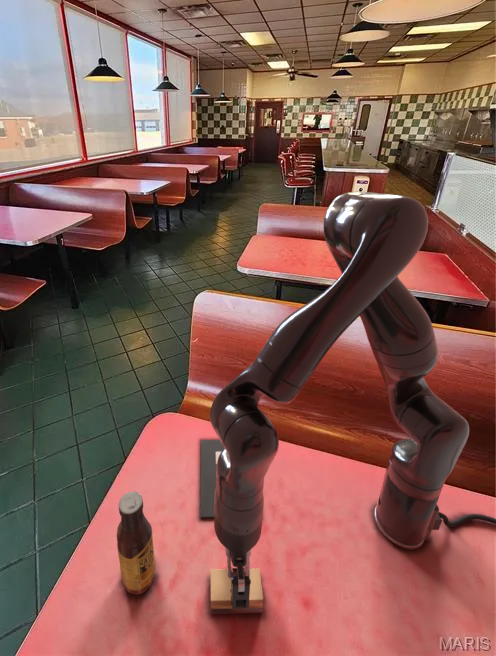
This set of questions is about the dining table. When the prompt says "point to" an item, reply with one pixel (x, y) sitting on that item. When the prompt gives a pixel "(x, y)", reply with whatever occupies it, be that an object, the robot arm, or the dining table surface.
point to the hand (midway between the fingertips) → (235, 570)
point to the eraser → (223, 594)
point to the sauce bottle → (135, 545)
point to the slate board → (209, 475)
